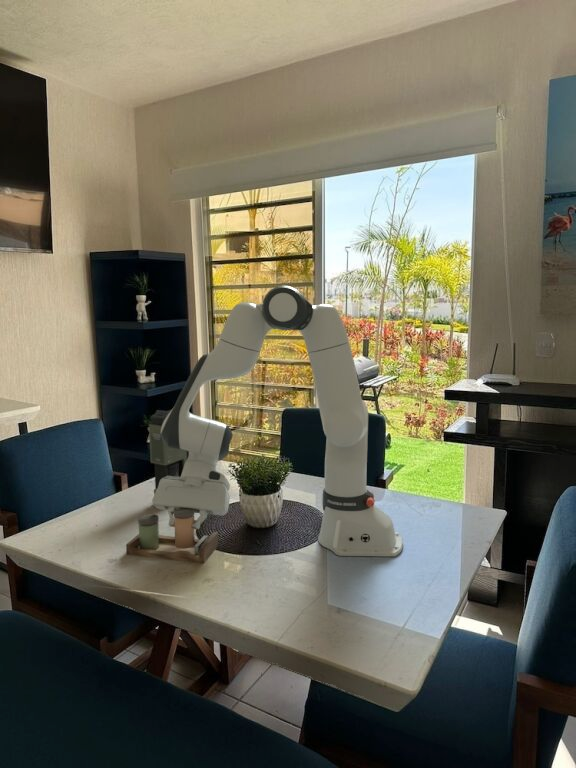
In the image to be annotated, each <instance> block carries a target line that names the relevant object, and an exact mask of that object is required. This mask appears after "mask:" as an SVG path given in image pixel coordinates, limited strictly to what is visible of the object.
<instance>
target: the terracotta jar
mask: <svg viewBox="0 0 576 768" xmlns="http://www.w3.org/2000/svg"><path fill="white" fill-rule="evenodd" d="M195 514H196V513H195V512H194V509H190V508H177V509H175V510H174V514H173V515H174V525H175V527H174V537H175V546H176V547H177V548H181V549H185V548H190V547H192V546H194V545H195V539H196V538H195V537H196V536H195V533H196V532H195V531H196V529H193V528H192V524H193V520H195Z"/></svg>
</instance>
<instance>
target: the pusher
mask: <svg viewBox="0 0 576 768" xmlns="http://www.w3.org/2000/svg"><path fill="white" fill-rule="evenodd" d="M208 538H209V536H208V535H203V536H202V537H201V538H199V539H200V540H199V542H198V543H197V544H196V545H195V546H194V547H195V555H199V548H200V547H201V546H202V545H203V544H204V542H205V541H206V540H207V539H208Z"/></svg>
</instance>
